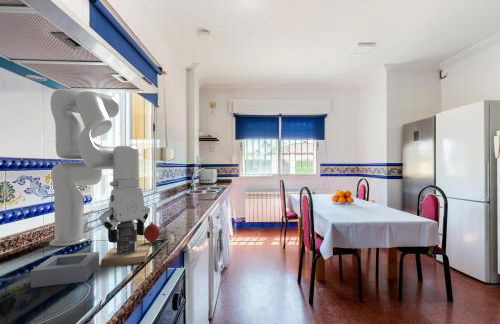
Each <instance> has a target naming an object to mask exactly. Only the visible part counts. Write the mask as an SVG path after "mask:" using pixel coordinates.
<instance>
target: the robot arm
mask: <svg viewBox="0 0 500 324" xmlns="http://www.w3.org/2000/svg"><path fill="white" fill-rule="evenodd" d="M49 105H50V110H51V114H52V116H53V119H54V123H55V124H54V125H55V126H54V127H55V153H56V155H57V157H58V158H60V159H64V160H82V161H83V162H60V163H58V164H55V165H54V166H53V167H52V169H51V172H50V176H51V180H52V181H51V182H52V187H53V193H54V194H53V196H54V201H53V203H54V239H52V240H50V241H49V246H51V247H68V246H74V245H78V244H82V243H85V242H87V241H88V240H89V237H88V236H87V235H84V196H83V194H82V191H80V189H78V187H85V186H94V185H97V184H99V183H100V181H102V180H101V179H102V176H103V175H102V174H103V170H112V178H113V179H112V181H110V183H109V186H110V187H112V188H113V189H111V191H110V195H109V202H108V203H109V204H108V210H106V211H105V212H104V213H102V214H100V216H99V217H98V219H99V220H100V222H101V225H102V226H103V227H104V228H105V229H106V230H107V239H108V242H109V243H113V244H115V243H116V244H117V225H118V224H119V223H120V222H126V221H131V220H133V221H136V222H135V223H136V224H137V236H144V231H145V223H146V221H147V219H148V218H149V214H150V212H151V208H150V207H148V206H146V205H145V200H144V199H145V197H144V195H143V189H142V188H141V187H140V159H139V157H140V154H139V153H140V152H139V149H138V147H136V146H134V145H118V146H106V145H105V146H101V145H102V144H101V143H100V141H99V140H98V139H97V138H96V137H99V136H103V135H104V134H106V133H108V132H110V130H112V126H113V122H112V120H111V119H112V118H115V117H116V116H117V115H118V114H119V111H120V105H119V102H118V100H117V99H116V98H115V97H114V96H112V95H108V94H104V93H101V92H95V91H91V90H84V91H79V90H74V89H73V90H72V89H67V88H57V89H55V90H54V91H53V92H52V93H51V96H50V104H49ZM74 113H75V114H79V116H80V118H81V120H82V122H83V125H84V128H83V129H82V126H81V125H82V124H81V122H80V121H79V119H78V118H77V116H75V115H74ZM108 219H109V221H108Z"/></svg>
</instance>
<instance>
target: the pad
mask: <svg viewBox="0 0 500 324" xmlns="http://www.w3.org/2000/svg"><path fill="white" fill-rule="evenodd" d="M149 253H150V244H148V245H147V244H146V245H137V251H135V252H133V253H130V254H118V253H117V247H113V248H110V249H109V250H108V251H107V253H106V254H105V255H104V256H103V257H102V258H101V259H100V263H101V264H100V267H101V268H105V267H106V266H107V267H114V266H115V267H116V266H124V265H125V264H126V265H133V264H135V265H136V264H142V263H141V262H145V263H146V262H147V259H146V258H148V256H149ZM147 255H148V256H147ZM123 264H124V265H123Z"/></svg>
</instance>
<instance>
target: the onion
mask: <svg viewBox="0 0 500 324" xmlns="http://www.w3.org/2000/svg"><path fill="white" fill-rule="evenodd" d="M160 235H161V230H160V228H159V226H158V225H156V224H155V223H154V222H153V221H150V223H149V225H147V226H146V227H145V228H144V235H143V237H144V239H145V240H147V241H148V242H149V243H151V244H152V243H153V244H154V243H155V241H156V240H158V238H159V237H160Z"/></svg>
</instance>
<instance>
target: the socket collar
mask: <svg viewBox="0 0 500 324" xmlns="http://www.w3.org/2000/svg"><path fill="white" fill-rule="evenodd" d="M99 266H100V251H92V252H90V251H89V252H81V253H71V254H59V255H52V256H50V257H49V258H48V259H46V260H44V261H43V262H41V263H40V264H38V265H37V266H36V267H34V268H33V269H31V270H30V274H29V275H30V279H29V280H30V283H29V284H30V286H29V287H30V288H40V287H48V286H50V287H51V286H58V285H65V284H73V283H83V282H87V281H88V280H89V278H90V277H91V276H92V274H94V272H95V271H96V270H97V268H98V267H99Z"/></svg>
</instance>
